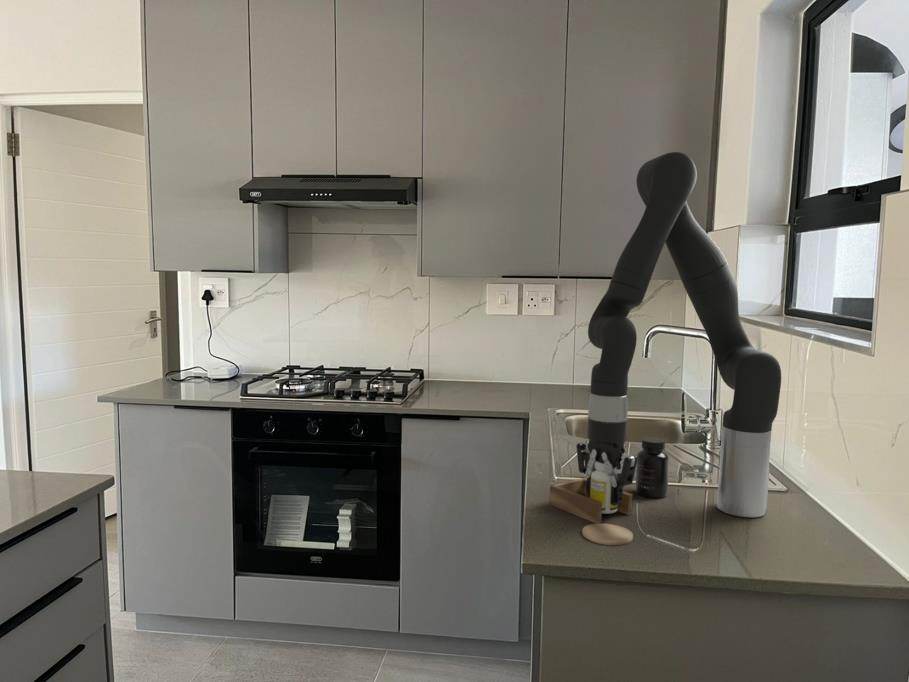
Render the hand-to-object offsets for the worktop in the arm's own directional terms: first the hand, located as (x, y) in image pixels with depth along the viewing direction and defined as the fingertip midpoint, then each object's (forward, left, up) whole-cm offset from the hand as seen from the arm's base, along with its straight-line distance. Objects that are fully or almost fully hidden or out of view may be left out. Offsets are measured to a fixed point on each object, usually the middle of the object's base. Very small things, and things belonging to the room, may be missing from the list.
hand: (603, 499), depth 140 cm
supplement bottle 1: (0, 0, -2) cm, 2 cm away
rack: (0, -3, -3) cm, 4 cm away
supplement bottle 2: (-19, -3, -3) cm, 19 cm away
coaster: (+8, +8, -3) cm, 12 cm away
